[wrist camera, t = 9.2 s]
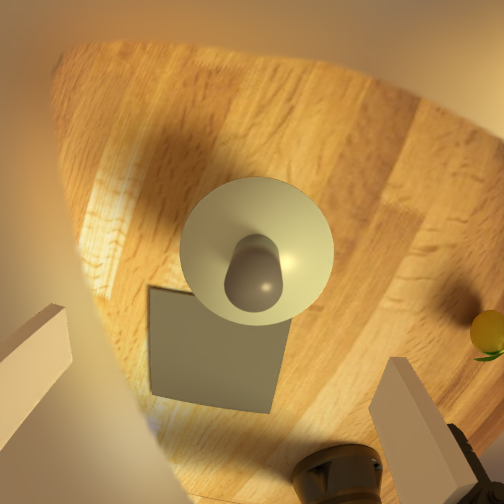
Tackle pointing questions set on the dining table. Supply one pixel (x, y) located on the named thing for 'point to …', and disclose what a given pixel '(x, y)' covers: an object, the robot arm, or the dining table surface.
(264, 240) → the lid
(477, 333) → the lemon
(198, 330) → the mat
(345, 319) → the dining table surface
